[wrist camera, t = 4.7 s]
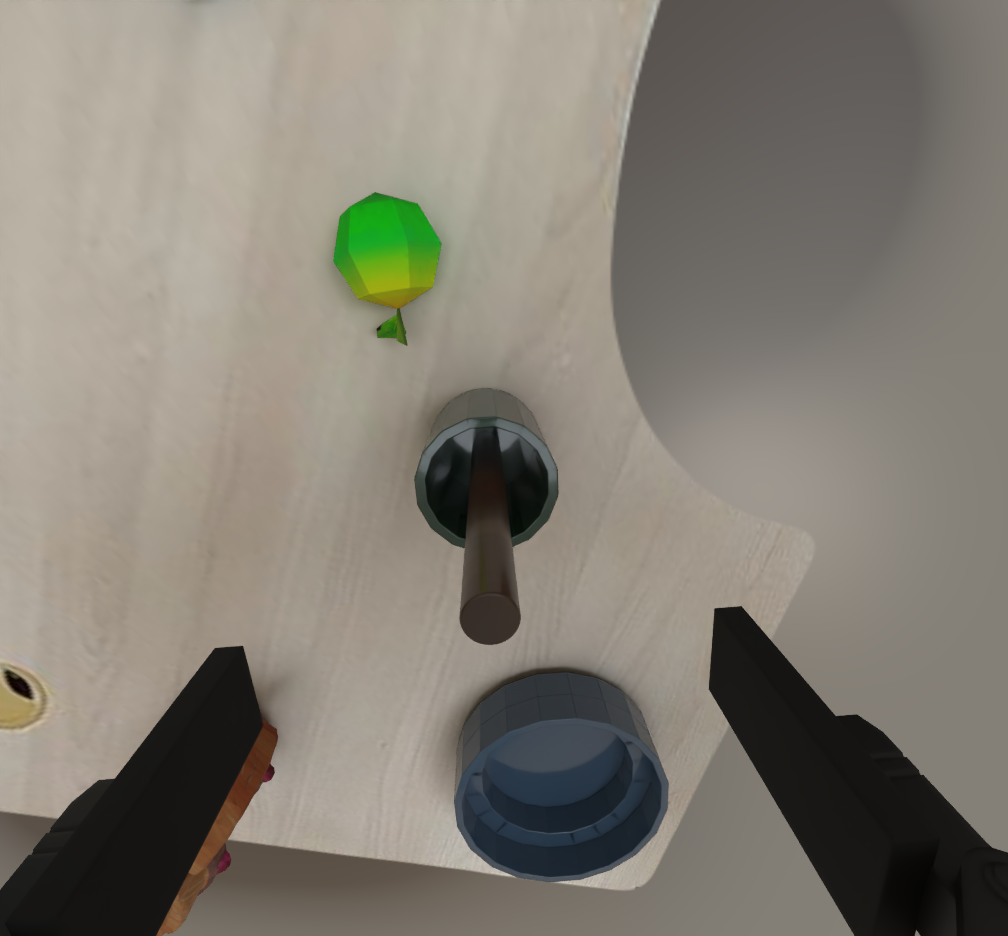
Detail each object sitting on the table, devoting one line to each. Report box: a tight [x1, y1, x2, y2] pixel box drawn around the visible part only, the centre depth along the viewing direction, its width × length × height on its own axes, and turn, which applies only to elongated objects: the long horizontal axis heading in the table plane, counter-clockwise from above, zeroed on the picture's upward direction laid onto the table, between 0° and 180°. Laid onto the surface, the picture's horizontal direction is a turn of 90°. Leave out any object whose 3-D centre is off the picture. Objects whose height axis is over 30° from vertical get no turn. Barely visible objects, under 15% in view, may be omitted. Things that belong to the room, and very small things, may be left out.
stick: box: [460, 432, 521, 645], centre depth 27 cm, size 2×2×22 cm
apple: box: [333, 192, 441, 345], centre depth 32 cm, size 7×6×9 cm
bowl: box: [454, 672, 669, 882], centre depth 45 cm, size 17×17×6 cm
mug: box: [156, 719, 278, 936], centre depth 38 cm, size 15×8×15 cm, turn 136°
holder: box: [414, 388, 558, 548], centre depth 34 cm, size 8×8×10 cm
